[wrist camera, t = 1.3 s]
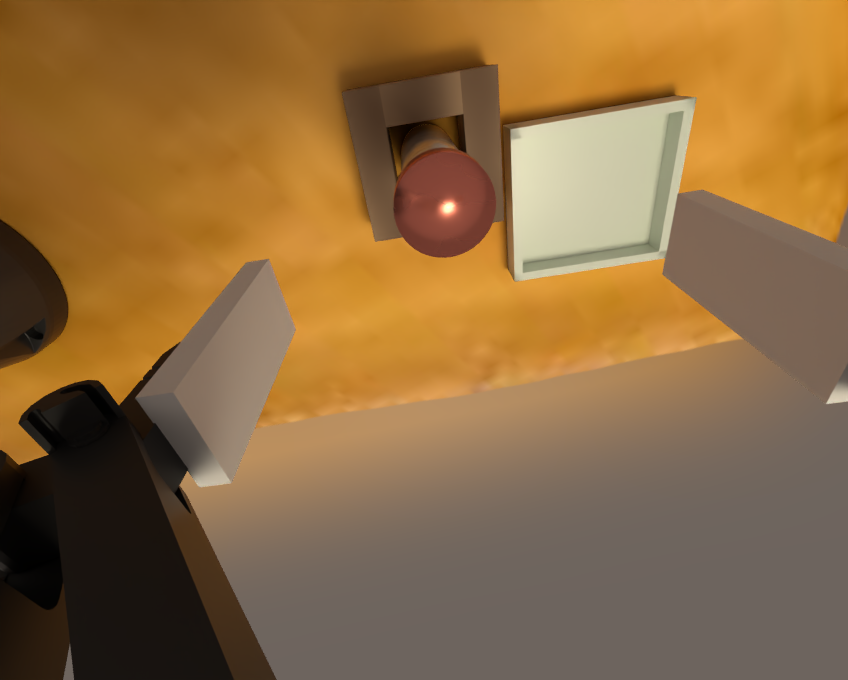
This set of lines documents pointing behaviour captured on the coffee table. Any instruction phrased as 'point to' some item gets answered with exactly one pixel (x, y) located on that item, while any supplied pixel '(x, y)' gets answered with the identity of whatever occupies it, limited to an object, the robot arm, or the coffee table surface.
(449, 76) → the socket block
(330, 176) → the coffee table surface
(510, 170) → the tray
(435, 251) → the pin
